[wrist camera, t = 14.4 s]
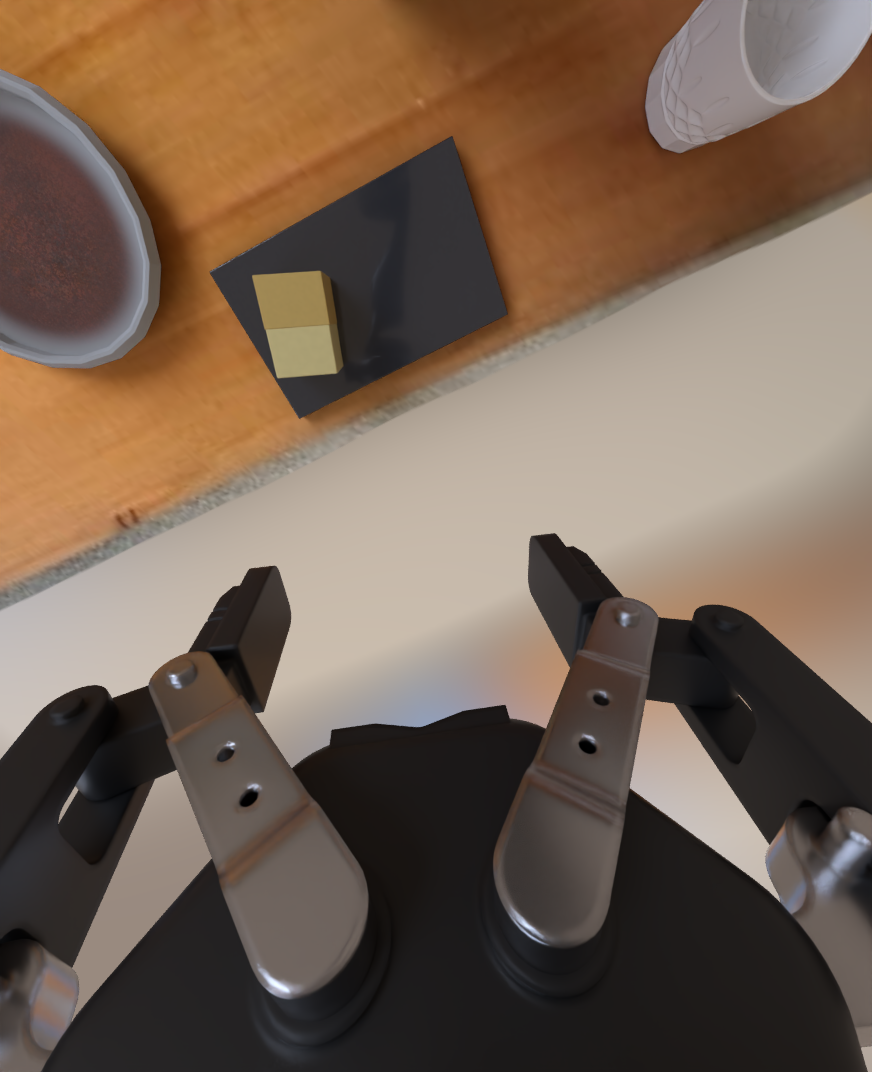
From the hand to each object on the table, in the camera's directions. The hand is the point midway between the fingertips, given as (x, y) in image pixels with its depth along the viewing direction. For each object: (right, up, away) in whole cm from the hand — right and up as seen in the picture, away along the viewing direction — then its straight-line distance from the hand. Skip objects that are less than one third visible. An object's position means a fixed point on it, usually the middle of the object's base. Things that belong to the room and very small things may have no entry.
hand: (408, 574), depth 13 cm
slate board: (-5, +21, +20) cm, 30 cm away
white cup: (+19, +34, +17) cm, 42 cm away
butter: (-9, +18, +20) cm, 28 cm away
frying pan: (-32, +20, +17) cm, 42 cm away
